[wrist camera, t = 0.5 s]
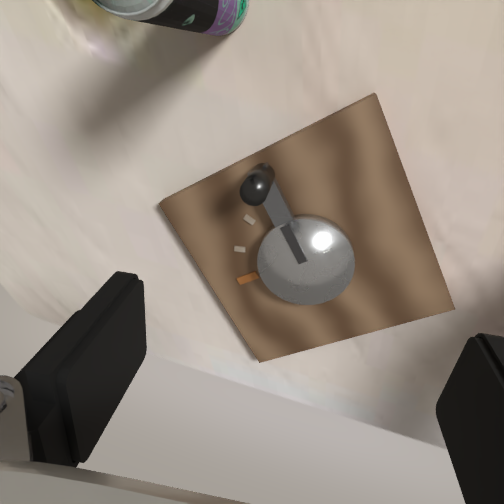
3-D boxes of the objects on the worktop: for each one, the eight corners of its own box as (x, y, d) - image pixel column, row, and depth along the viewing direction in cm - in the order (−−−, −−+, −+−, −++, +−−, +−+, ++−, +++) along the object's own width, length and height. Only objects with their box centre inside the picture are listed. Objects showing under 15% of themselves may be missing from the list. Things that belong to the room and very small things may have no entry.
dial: (368, 279, 40) (373, 311, 35) (284, 306, 44) (278, 339, 39) (304, 140, 35) (301, 154, 30) (214, 184, 38) (198, 203, 33)
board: (374, 92, 33) (376, 94, 32) (451, 301, 41) (455, 310, 40) (163, 198, 42) (157, 204, 40) (261, 354, 50) (259, 363, 49)
